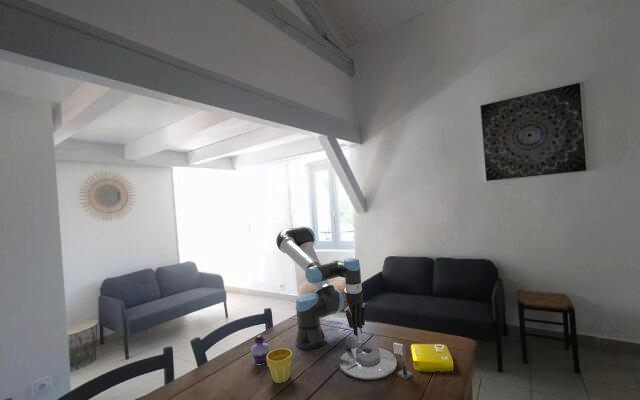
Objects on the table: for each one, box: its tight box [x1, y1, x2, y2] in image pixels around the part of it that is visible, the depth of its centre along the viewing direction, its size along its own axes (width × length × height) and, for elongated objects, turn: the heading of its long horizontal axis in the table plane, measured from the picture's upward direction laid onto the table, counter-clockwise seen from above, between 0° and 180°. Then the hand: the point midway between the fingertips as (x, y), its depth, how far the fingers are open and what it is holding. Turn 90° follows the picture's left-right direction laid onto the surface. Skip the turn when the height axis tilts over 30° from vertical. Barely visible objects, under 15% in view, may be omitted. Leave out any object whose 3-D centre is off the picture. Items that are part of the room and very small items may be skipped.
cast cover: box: [356, 344, 381, 367], centre depth 124 cm, size 10×10×4 cm
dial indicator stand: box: [392, 342, 414, 381], centre depth 115 cm, size 5×4×12 cm
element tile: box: [410, 343, 455, 373], centre depth 122 cm, size 15×15×5 cm
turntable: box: [338, 336, 398, 381], centre depth 125 cm, size 27×24×6 cm
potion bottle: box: [249, 334, 270, 365], centre depth 134 cm, size 9×9×12 cm
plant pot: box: [266, 347, 293, 384], centre depth 119 cm, size 10×10×10 cm
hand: (358, 341), depth 139 cm, fingers closed
